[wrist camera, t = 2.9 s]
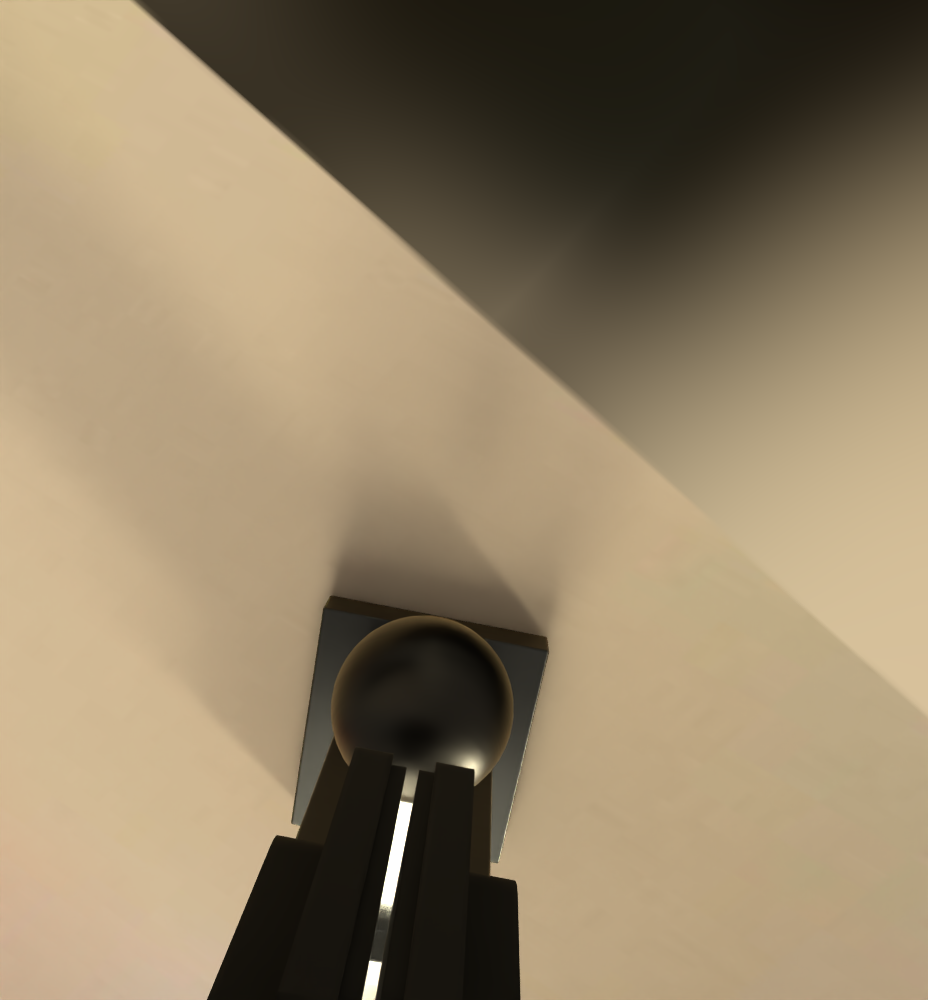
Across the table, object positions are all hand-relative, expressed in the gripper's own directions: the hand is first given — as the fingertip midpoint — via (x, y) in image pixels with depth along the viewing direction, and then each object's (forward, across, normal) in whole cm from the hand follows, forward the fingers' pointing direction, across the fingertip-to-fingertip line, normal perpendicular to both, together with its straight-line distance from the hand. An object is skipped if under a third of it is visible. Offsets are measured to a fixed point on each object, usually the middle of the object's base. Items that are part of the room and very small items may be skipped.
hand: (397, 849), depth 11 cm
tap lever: (+7, 0, +4) cm, 8 cm away
